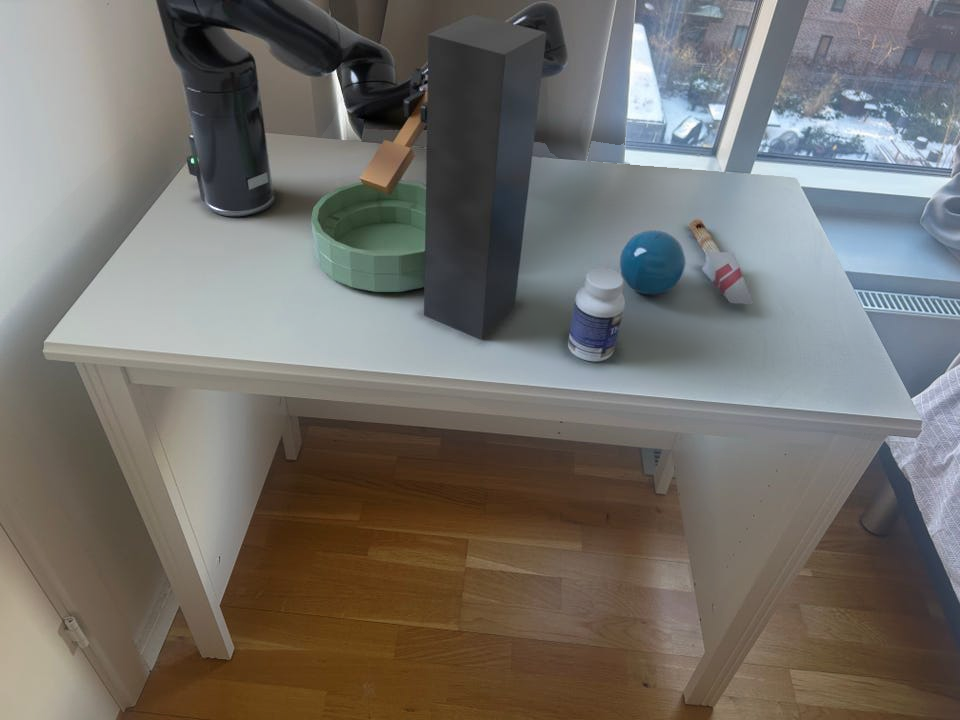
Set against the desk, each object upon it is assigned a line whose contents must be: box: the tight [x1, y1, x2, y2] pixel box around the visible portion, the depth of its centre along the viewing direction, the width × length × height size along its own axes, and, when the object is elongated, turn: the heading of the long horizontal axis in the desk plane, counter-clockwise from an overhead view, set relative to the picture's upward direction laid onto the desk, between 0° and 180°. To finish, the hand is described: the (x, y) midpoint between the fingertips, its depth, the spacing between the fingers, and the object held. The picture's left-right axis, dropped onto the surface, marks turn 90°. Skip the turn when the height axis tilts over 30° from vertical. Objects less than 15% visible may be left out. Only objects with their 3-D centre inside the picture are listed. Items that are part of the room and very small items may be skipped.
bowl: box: [310, 179, 426, 293], centre depth 95 cm, size 19×19×6 cm
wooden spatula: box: [359, 89, 428, 195], centre depth 90 cm, size 16×4×2 cm
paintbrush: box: [689, 218, 753, 304], centre depth 99 cm, size 4×3×20 cm
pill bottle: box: [567, 267, 626, 362], centre depth 82 cm, size 5×5×10 cm
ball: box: [619, 229, 686, 296], centre depth 92 cm, size 8×8×8 cm
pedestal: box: [423, 14, 546, 341], centre depth 79 cm, size 8×8×32 cm
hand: (415, 112), depth 90 cm, fingers closed on wooden spatula, 2 cm apart
